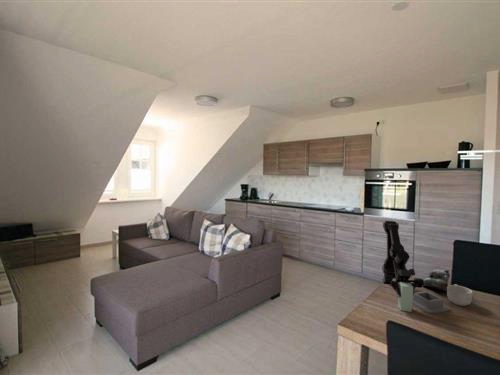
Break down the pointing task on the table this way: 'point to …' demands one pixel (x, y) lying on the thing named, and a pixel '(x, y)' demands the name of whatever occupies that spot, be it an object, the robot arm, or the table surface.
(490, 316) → the table surface
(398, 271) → the robot arm
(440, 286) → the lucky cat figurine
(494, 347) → the table surface
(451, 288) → the teacup
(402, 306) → the sage block
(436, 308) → the grey square socket base
